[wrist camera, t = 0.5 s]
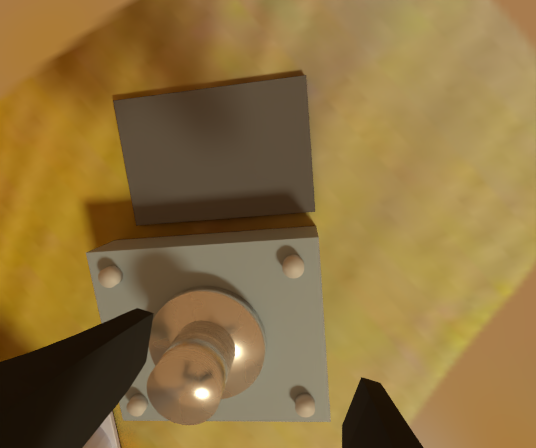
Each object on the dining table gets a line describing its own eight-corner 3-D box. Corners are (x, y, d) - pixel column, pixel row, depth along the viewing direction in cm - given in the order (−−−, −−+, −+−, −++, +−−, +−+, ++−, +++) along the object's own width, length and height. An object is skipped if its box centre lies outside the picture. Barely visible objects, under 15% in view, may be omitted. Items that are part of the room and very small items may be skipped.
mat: (139, 224, 21) (136, 225, 21) (117, 102, 19) (113, 100, 19) (314, 210, 19) (315, 211, 19) (305, 77, 18) (306, 75, 18)
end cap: (177, 368, 22) (127, 452, 16) (161, 276, 20) (99, 328, 14) (274, 366, 21) (263, 455, 15) (264, 270, 20) (247, 323, 13)
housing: (145, 388, 24) (118, 427, 20) (115, 240, 21) (79, 255, 18) (326, 387, 22) (331, 430, 19) (315, 225, 20) (319, 239, 16)
